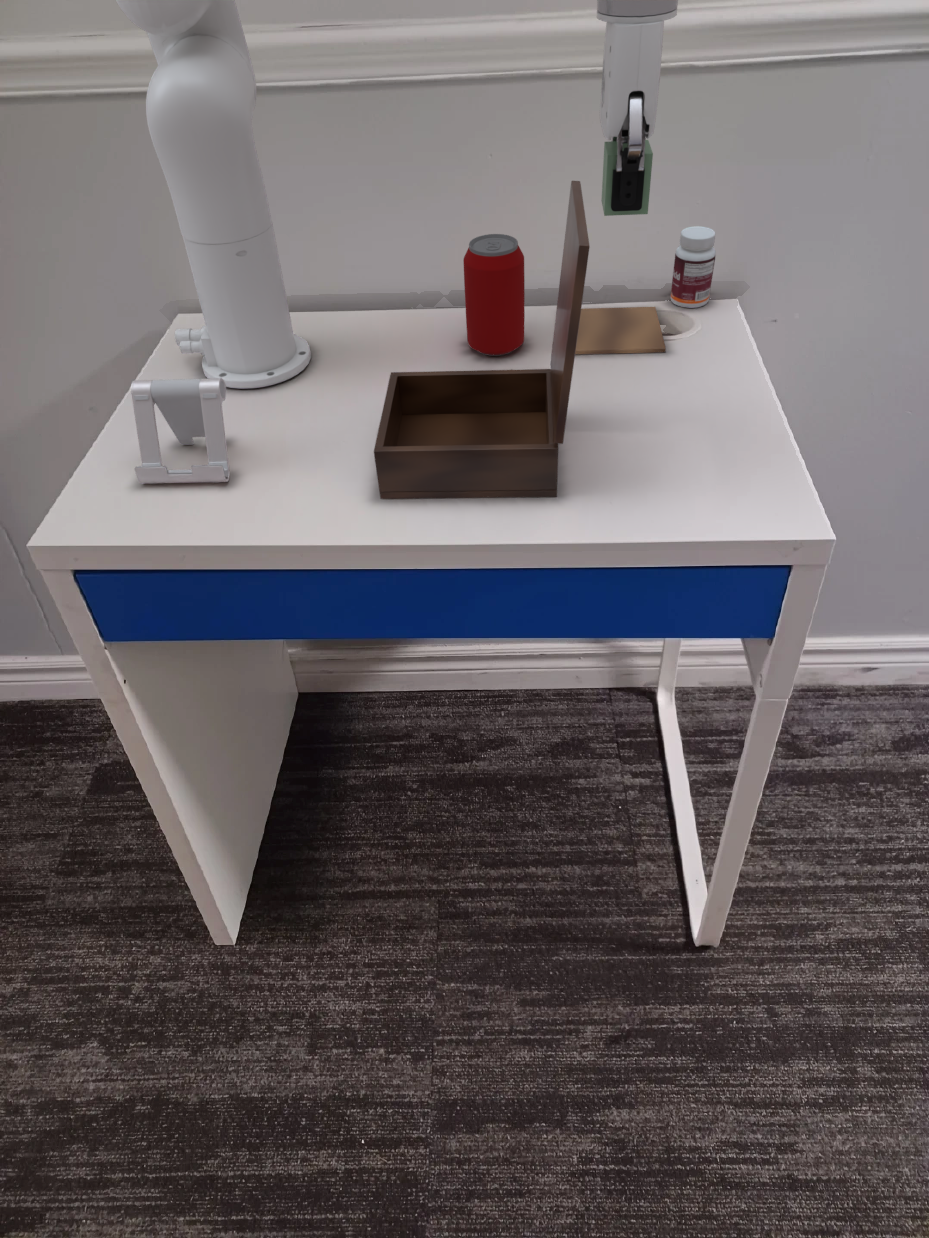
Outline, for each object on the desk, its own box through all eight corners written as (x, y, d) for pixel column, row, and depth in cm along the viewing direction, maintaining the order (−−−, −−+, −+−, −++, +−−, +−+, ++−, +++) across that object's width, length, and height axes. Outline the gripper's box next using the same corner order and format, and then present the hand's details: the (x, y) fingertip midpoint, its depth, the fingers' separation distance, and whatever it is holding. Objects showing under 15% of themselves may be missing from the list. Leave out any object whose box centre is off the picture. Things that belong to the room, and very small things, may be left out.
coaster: (569, 354, 102) (569, 350, 102) (565, 312, 110) (565, 308, 110) (665, 352, 102) (665, 348, 101) (655, 310, 110) (655, 306, 109)
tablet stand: (140, 488, 87) (113, 412, 81) (163, 444, 93) (139, 370, 87) (226, 486, 86) (205, 410, 81) (244, 442, 92) (225, 368, 86)
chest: (380, 499, 84) (373, 451, 80) (395, 417, 94) (390, 372, 91) (556, 497, 83) (558, 448, 79) (552, 415, 93) (554, 368, 89)
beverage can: (526, 333, 107) (525, 231, 99) (523, 360, 102) (522, 255, 94) (470, 333, 108) (465, 231, 99) (464, 359, 103) (459, 255, 95)
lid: (579, 245, 67) (589, 245, 67) (571, 180, 77) (580, 180, 77) (553, 443, 79) (562, 444, 79) (550, 364, 89) (558, 364, 89)
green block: (604, 216, 95) (607, 155, 91) (601, 201, 98) (604, 141, 94) (647, 214, 94) (653, 153, 90) (643, 199, 98) (648, 139, 94)
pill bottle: (669, 292, 113) (677, 224, 107) (707, 292, 113) (717, 224, 107) (670, 308, 110) (678, 239, 104) (709, 309, 109) (720, 240, 103)
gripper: (592, -16, 90) (584, 176, 102) (603, 18, 77) (593, 232, 90) (667, -20, 89) (650, 174, 102) (690, 13, 77) (668, 229, 89)
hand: (624, 199), depth 96 cm, fingers closed on green block, 4 cm apart
